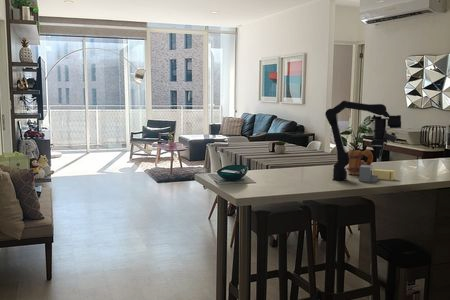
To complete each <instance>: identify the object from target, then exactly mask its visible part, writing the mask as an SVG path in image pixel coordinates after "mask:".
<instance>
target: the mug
mask: <svg viewBox="0 0 450 300" xmlns="http://www.w3.org/2000/svg"><path fill="white" fill-rule="evenodd" d="M348 151H349V156H350V161H349V163H348V167H346V171H347V174H349V175H351V174H352V175H351V176H355V175H356V176H358V175H359V172H360V166H361V165H372V163H373V161H374V154H373V153H372V150H370V149H368V148H367V149H365V150H364V151H363V150H362V151H361V149H358V150H357V149H349V150H348ZM364 157H367V160H366V162H362V158H364Z"/></svg>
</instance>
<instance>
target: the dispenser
mask: <svg viewBox="0 0 450 300" xmlns="http://www.w3.org/2000/svg"><path fill="white" fill-rule="evenodd" d="M358 175H359V177H358V178H359V179H358V180H359V182H365V181H366V182H367V183H370V182H371V183H373V182H374V183H377V181H378V180H379V179H378V176H377V175H373V165H372V164H371V165H361V166H360V172H359V174H358Z"/></svg>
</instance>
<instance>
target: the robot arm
mask: <svg viewBox="0 0 450 300" xmlns="http://www.w3.org/2000/svg"><path fill="white" fill-rule="evenodd" d="M345 109H350V110H357V111H364V112H368V113H372V114H373V116H372V117H370V120H374V125H373V126H374V127H373V128H374V129H373V138H372V140H371V141H370V146H371V148H372V150H373V153H374V155H375V158H376V159H380V157H382V156H383V151H384V148H385V146H386V145H388V142H392V143H396V141H397V139H398V136H397V135H396V133H395V132H391V133H389V132H387V127H389V129H402V115H401V114H399V115H398V114H397V115H391V114H390V113H389V112H388V111H387V106H386V105H385V104H382V103H374V104H373V103H372V104H368V103H362V102H361V103H360V102H354V101H347V100H342V101H341V102H339V104H337V105H336V106H334V107H332V108H328V109H327V110H326V111H325V114H324V115H325V118H326V120H327V121H328V123H329V125H330V128H331V132H332V136H333V140H334V143H335V147H336V154H337V156H336V157H337V161H336V163H334V164H333V170H332V171H333V173H332V175H333V176H332V180H333V181H341V182H342V181H344V182H345V181H346V180H347V179H348V170H347V166H349V161H350V156H349V150H348V151H347V150H346V149H345V146H344V142H343V137H342V134H341V130H340V127H339V117H338V116H339V115H338V114H339V113H341V112H342V111H344V110H345ZM382 116H383V117H384V118H383V117H382Z"/></svg>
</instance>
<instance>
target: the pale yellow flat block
mask: <svg viewBox="0 0 450 300" xmlns="http://www.w3.org/2000/svg"><path fill="white" fill-rule="evenodd" d="M395 173H396V170H391V169H390V170H389V169H377V168H375V169H372V175H377V176H378V180H388V181H395V177H396V176H395V175H396V174H395Z"/></svg>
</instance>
